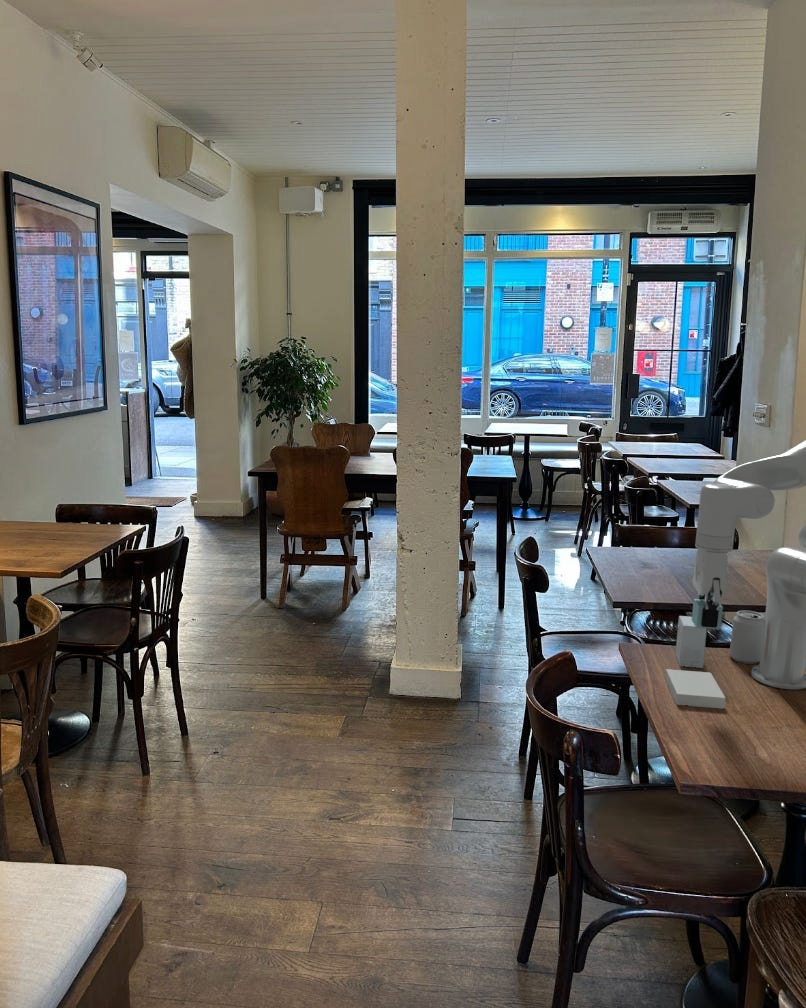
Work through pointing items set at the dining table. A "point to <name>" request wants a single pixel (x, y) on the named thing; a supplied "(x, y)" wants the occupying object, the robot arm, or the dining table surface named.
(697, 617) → the teal cube
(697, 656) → the small box
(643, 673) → the dining table surface
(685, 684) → the plate
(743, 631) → the can
